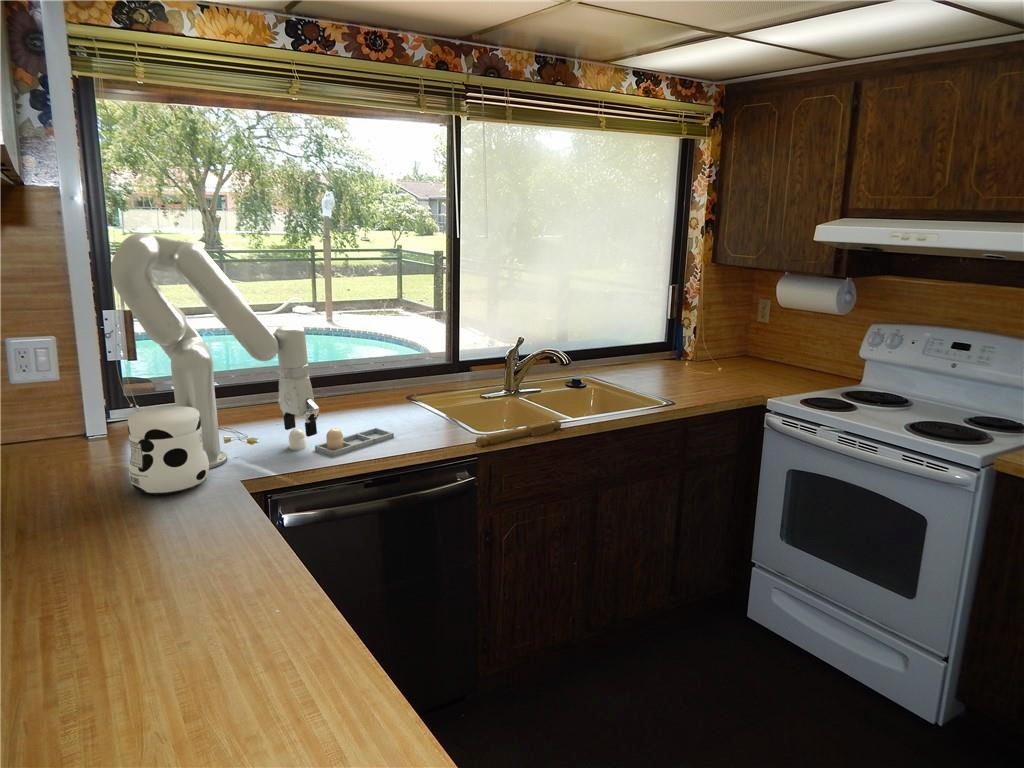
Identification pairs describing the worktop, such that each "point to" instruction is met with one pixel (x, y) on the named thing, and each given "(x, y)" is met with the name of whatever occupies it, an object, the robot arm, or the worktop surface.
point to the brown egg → (334, 439)
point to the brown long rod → (519, 432)
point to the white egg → (297, 439)
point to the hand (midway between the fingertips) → (300, 431)
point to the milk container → (167, 450)
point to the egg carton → (356, 442)
